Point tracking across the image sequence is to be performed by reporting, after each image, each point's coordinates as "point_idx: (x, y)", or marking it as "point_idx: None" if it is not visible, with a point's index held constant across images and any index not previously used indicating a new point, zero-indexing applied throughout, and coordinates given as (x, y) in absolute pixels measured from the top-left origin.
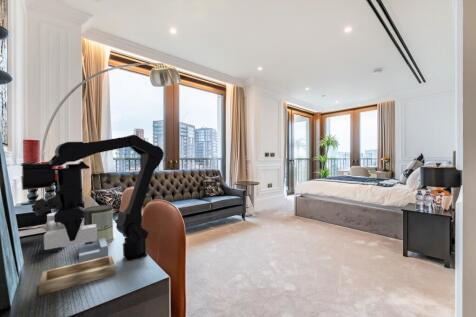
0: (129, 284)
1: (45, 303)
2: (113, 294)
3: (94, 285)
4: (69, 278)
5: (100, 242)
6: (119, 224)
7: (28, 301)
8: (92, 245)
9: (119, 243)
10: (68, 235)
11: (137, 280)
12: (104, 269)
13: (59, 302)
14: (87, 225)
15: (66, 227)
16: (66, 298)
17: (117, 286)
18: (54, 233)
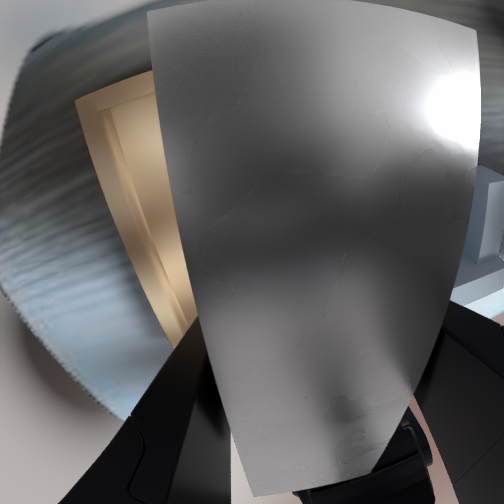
0: (102, 369)
1: (35, 154)
2: (56, 338)
3: (116, 286)
4: (115, 215)
5: (458, 289)
6: (352, 483)
7: (69, 76)
8: (481, 239)
9: None
10: (162, 367)
11: (122, 384)
12: (166, 332)
13: (31, 202)
14: (376, 450)
15: (93, 475)
16: (49, 216)
17: (96, 346)
18: (200, 211)
